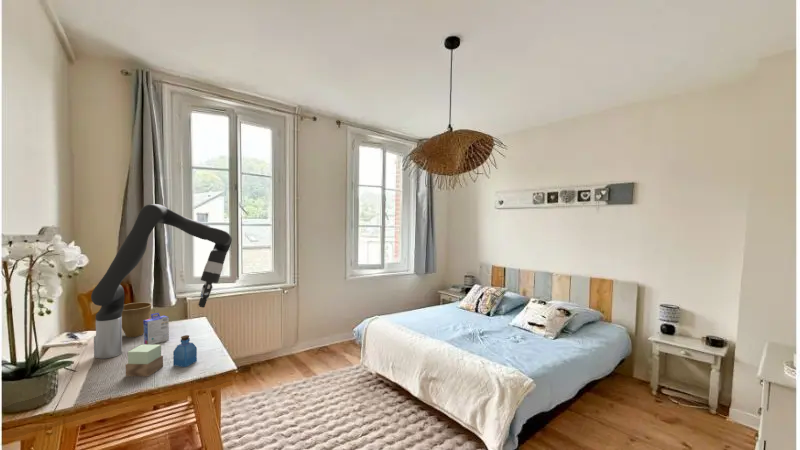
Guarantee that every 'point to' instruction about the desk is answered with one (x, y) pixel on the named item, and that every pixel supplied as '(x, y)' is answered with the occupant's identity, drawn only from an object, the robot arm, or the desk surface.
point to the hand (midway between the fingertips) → (201, 306)
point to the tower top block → (144, 354)
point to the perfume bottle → (184, 353)
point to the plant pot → (135, 318)
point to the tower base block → (144, 368)
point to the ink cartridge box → (156, 329)
